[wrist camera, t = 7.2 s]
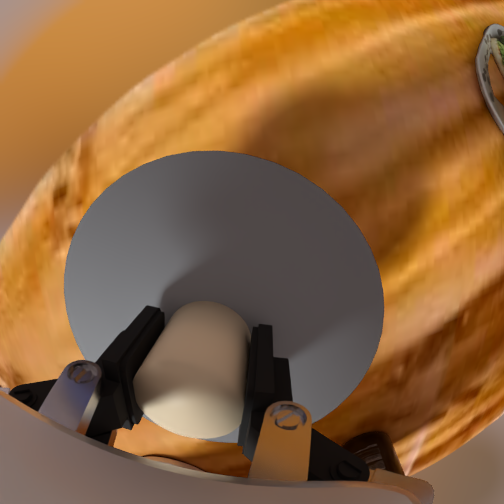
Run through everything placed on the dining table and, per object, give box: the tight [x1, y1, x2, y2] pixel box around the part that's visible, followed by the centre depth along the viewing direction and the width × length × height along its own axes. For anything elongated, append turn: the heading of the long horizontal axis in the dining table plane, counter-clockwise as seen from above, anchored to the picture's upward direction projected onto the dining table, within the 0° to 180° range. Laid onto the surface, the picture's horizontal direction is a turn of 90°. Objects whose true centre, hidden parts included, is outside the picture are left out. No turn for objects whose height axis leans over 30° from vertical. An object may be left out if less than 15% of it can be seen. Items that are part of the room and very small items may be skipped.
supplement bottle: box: [343, 432, 405, 476], centre depth 21 cm, size 7×7×12 cm
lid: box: [64, 151, 384, 443], centre depth 10 cm, size 15×15×5 cm
